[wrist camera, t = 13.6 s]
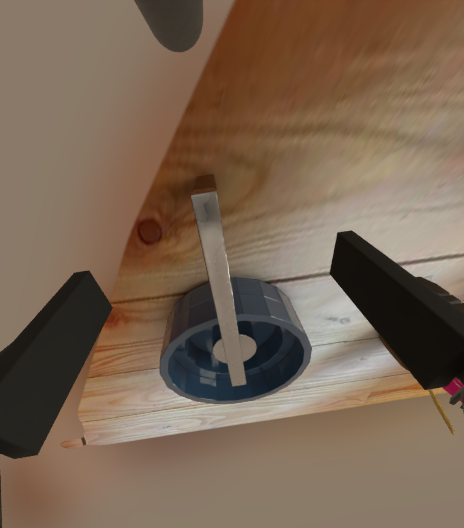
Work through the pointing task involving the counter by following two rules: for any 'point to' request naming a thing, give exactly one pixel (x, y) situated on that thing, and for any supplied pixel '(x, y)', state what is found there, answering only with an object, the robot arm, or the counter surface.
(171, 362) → the bowl
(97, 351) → the counter surface
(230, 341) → the bent grey beam
